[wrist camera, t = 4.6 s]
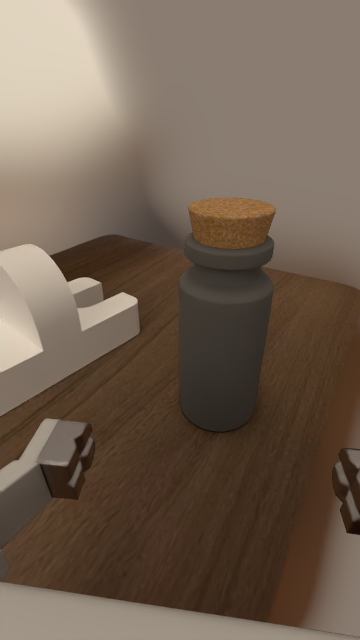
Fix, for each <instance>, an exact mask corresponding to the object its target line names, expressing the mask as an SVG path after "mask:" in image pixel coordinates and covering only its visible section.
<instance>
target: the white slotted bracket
mask: <svg viewBox="0 0 360 640" xmlns="http://www.w3.org/2000/svg"><path fill="white" fill-rule="evenodd" d="M139 333H140V325H139V313H138V301H137V299H136V298H135V297H132V296H130V295H128V294H126V293H123V292H122V293H120V294H118V295H115V296H113V297H111V298H109V299H107V300H104V299H103V292H102V285H101V283H100V282H98V281H96V280H94V279H91V278H78V279H75V280H73V281H70V282H67V281H66V280H65V278H64V276H63V274H62V272H61V271H60V269H59V268H58V267H57V265H56V264H55V263H54V261H53V260H52V259H51V258H50V257H49V256H48V255H47V254H46V253H45V252H44V251H43V250H42V249H40V248H39V247H37V246H35V245H30V244H26V245H22V246H18V247H14V248H10V249H7V250H3V251H0V416H2V415H3V414H5V413H7V412H9V411H10V410H12V409H14V408H15V407H17V406H19V405H20V404H22V403H24V402H25V401H27V400H29V399H30V398H32V397H34V396H35V395H37V394H39V393H41V392H42V391H44V390H46V389H47V388H49V387H51V386H52V385H54V384H56V383H57V382H59V381H61V380H62V379H64V378H66V377H67V376H69V375H71V374H73V373H74V372H76V371H78V370H79V369H81V368H83V367H84V366H86V365H88V364H89V363H91V362H93V361H94V360H96V359H98V358H99V357H101V356H103V355H104V354H106V353H108V352H110V351H111V350H113V349H115V348H116V347H118V346H120V345H121V344H123V343H125V342H126V341H128V340H130V339H131V338H133V337H135V336H136V335H138V334H139Z"/></svg>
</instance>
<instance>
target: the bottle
mask: <svg viewBox="0 0 360 640" xmlns="http://www.w3.org/2000/svg"><path fill="white" fill-rule="evenodd" d="M188 210H189V215H190V220H191V226H192V231H193V232H192V233H190V234H189V235H187V236H186V238H185V255H186V257H187V258H188V259H189V260H190V261H191V262H193V263H194V266H193V267H191V268H189V269H188V270H187V271H186V272H184V273H183V275H182V276H181V277H180V280H179V385H180V405H181V409H182V411H183V413H184V415H185V416H186V417H187V418H188V419H189V420H190V421H191V422H192V423H193V424H195V425H197V426H199V427H201V428H203V429H206V430H210V431H219V432H223V431H230V430H234V429H237V428H239V427H241V426H242V425H244V424H245V423H246V422H247V421H248V420H249V419H250V417H251V415H252V413H253V410H254V406H255V400H256V395H257V389H258V383H259V377H260V371H261V365H262V359H263V353H264V347H265V340H266V334H267V328H268V322H269V316H270V309H271V303H272V296H273V283H272V280H271V279H270V277H269V276H268V275H267V274H266V273H265V272H264V271H262V270H261V269H260V268H261V266H263V265H265V264H267V263H268V262H269V261H270V260H271V258H272V255H273V249H274V241H273V240H272V238H270V237H269V236H268V235H267V234H268V232H269V229H270V226H271V223H272V220H273V217H274V215H275V210H276V209H275V207H274V206H272V205H271V204H268V203H266V202H263V201H257V200H252V199H243V198H212V199H205V200H200V201H196V202H194V203H192V204H190V206H189V208H188Z"/></svg>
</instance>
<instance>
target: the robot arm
mask: <svg viewBox="0 0 360 640" xmlns="http://www.w3.org/2000/svg"><path fill="white" fill-rule="evenodd" d="M91 432H92V427H91V424H90V423H82V422H74V421H66V420H58V419H48V418H46V419H45V420H44V421H43V422H42V423H41V425H40V426H39V428H38V430H37V431H36V433H35V434H34V436H33V438H32V439H31V441H30V443H29V444H28V446H27V448H26V449H25V451H24V452H23V454H22V456H21V457H20V459H19V461H16V460H14V461H13V462H11V463H10V464H8V465H7V466H5V467H4V468H2V469H1V470H0V640H360V637H357V636H350V635H344V634H337V633H331V632H324V631H318V630H311V629H305V628H298V627H292V626H285V625H279V624H272V623H266V622H259V621H253V620H246V619H240V618H233V617H227V616H220V615H214V614H207V613H201V612H194V611H188V610H181V609H175V608H168V607H162V606H155V605H149V604H142V603H136V602H129V601H123V600H116V599H109V598H103V597H96V596H90V595H83V594H77V593H70V592H64V591H57V590H51V589H44V588H38V587H31V586H25V585H18V584H12V583H5V582H3V581H4V579H5V577H6V575H7V573H8V571H9V569H10V564H9V561H8V559H7V558H6V556H5V555H4V553H3V551H2V550H1V549H2V548H3V547H4V546H5V545H6V544H7V543H8V542H9V541H10V540H11V539H12V538H13V537H14V536H15V535H16V534H17V533H18V532H19V531H20V530H21V529H22V528H23V527H24V526H25V525H26V524H27V523H28V522H29V521H30V520H32V519H33V518H34V517H35V516H36V515H37V514H38V513H39V512H40V511H41V510H42V509H43V508H44V507H45V506H46V505H47V504H48V503H49V502H50V501H51V500H52V497H54V498H65V499H75V500H78V497H79V495H80V492H81V490H82V487H83V485H84V482H85V477H84V472H85V471H86V470H88V469H89V468H90V467H91V464H92V461H93V458H94V453H95V441H94V438H93V437H92V436H90V434H91ZM339 458H340V461H339V462H337V463H335V465H334V468H333V470H332V482H333V488H334V491H335V495H336V496H337V497H338V498H339V499H340V500H341V501H342V502H343V504H342V506H341V508H340V512H341V515H342V518H343V522H344V525H345V528H346V532H347V533H351V534H358V535H360V449H352V448H343V449H341V450H340V453H339Z"/></svg>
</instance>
